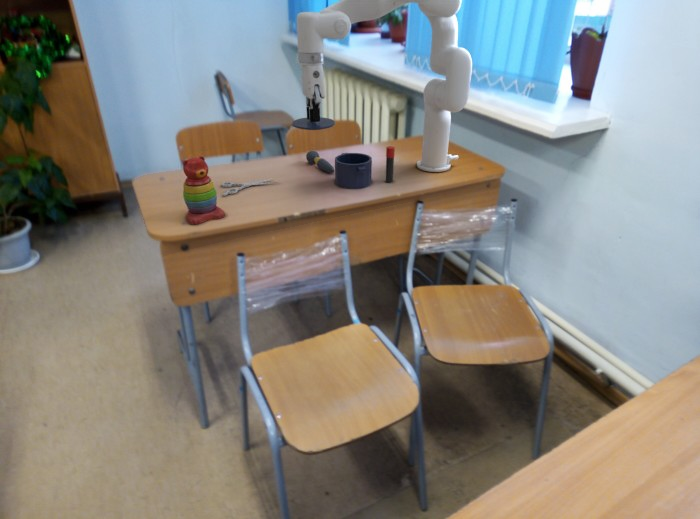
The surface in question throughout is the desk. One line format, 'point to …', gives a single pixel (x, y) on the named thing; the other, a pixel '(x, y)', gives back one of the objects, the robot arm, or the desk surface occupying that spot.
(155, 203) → the desk surface
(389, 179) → the marker
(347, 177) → the pot
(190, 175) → the stacking bear
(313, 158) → the grey microphone
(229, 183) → the scissors
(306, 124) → the lid
